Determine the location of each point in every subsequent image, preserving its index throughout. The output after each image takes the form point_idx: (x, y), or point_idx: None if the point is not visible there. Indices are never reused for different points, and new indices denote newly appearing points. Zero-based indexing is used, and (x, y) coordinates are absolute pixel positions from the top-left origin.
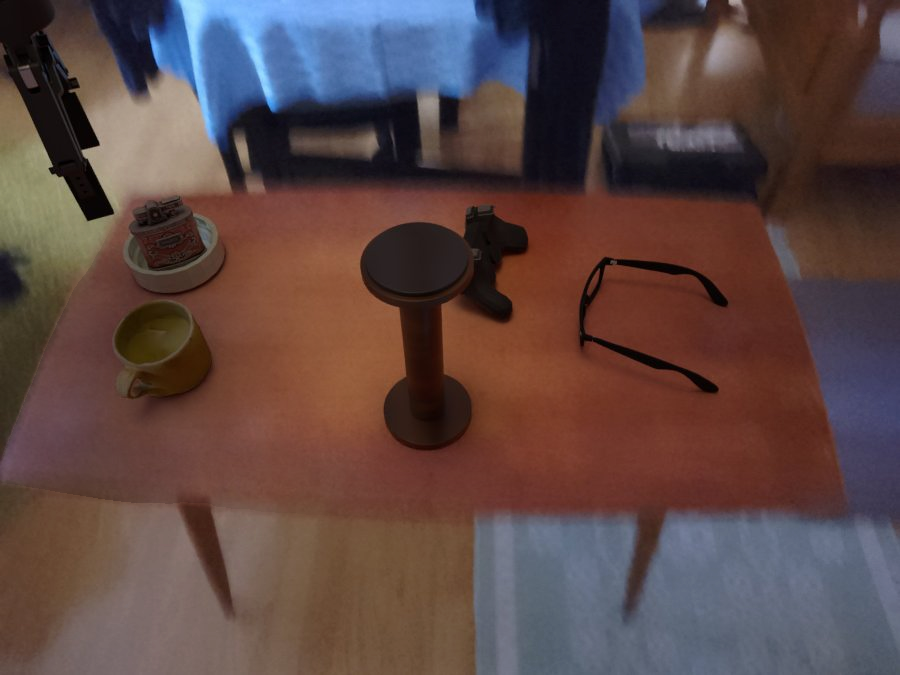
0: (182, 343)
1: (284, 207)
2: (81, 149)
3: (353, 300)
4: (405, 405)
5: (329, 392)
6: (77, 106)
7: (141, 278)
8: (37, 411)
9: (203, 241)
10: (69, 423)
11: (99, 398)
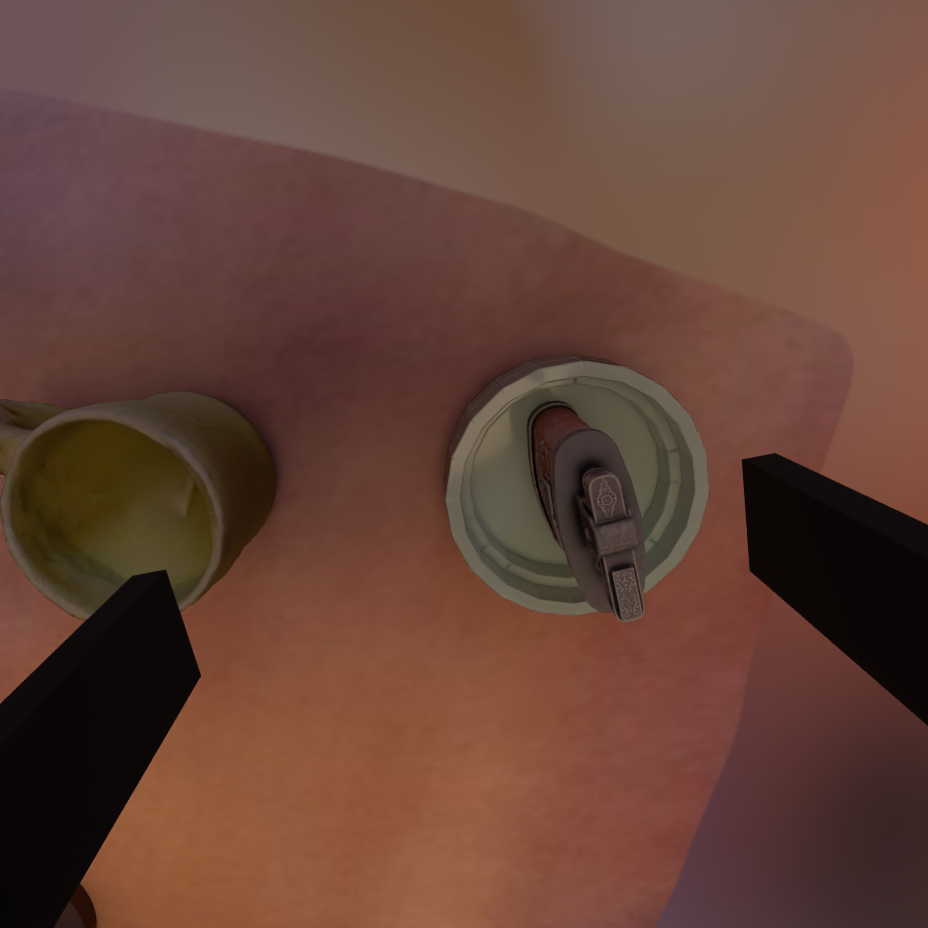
0: (138, 554)
1: (692, 715)
2: (746, 488)
3: (332, 829)
4: None
5: None
6: (909, 689)
7: (477, 405)
8: (107, 134)
9: None
10: (58, 224)
11: (129, 293)
